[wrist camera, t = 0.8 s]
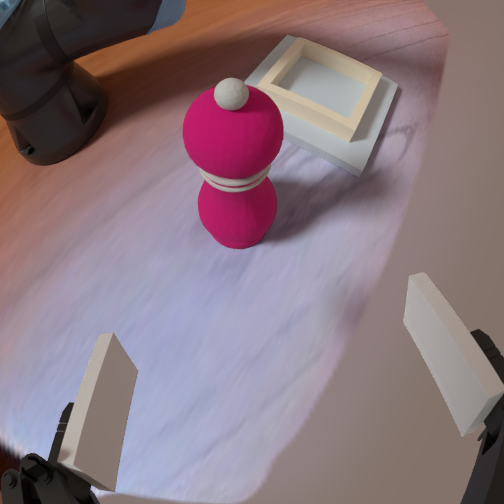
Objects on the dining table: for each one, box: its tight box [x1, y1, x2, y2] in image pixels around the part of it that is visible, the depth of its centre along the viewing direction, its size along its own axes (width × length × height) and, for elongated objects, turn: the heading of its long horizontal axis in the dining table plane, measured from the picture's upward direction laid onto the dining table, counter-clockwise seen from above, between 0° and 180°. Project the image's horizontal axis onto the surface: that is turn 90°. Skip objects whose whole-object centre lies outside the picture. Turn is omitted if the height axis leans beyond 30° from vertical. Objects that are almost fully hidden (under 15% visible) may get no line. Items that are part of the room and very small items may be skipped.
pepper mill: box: [183, 78, 284, 249], centre depth 24 cm, size 7×7×20 cm
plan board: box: [244, 35, 398, 177], centre depth 36 cm, size 18×18×4 cm
